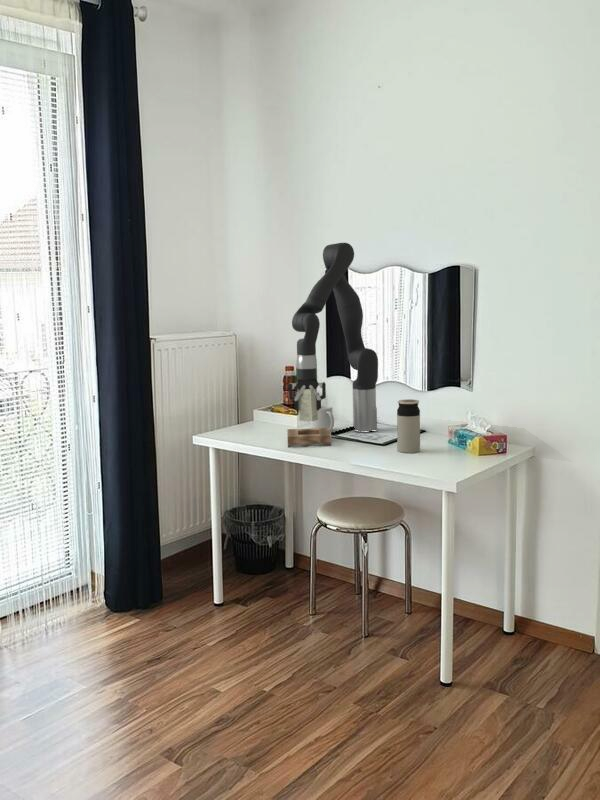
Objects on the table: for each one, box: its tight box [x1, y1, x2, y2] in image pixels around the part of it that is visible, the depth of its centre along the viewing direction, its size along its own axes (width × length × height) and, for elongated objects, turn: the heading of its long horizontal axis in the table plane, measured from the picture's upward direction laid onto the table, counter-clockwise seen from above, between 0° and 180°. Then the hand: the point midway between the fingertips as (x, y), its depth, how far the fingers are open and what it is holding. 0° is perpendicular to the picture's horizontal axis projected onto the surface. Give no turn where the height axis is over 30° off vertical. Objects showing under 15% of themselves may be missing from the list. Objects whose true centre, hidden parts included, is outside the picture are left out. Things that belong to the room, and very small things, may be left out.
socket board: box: [286, 428, 332, 448], centre depth 303 cm, size 16×14×4 cm
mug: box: [310, 404, 335, 434], centre depth 321 cm, size 11×10×10 cm
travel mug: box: [396, 398, 421, 454], centre depth 283 cm, size 8×8×18 cm
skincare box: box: [296, 387, 318, 423], centre depth 301 cm, size 6×4×12 cm
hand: (307, 410), depth 301 cm, fingers closed on skincare box, 7 cm apart
